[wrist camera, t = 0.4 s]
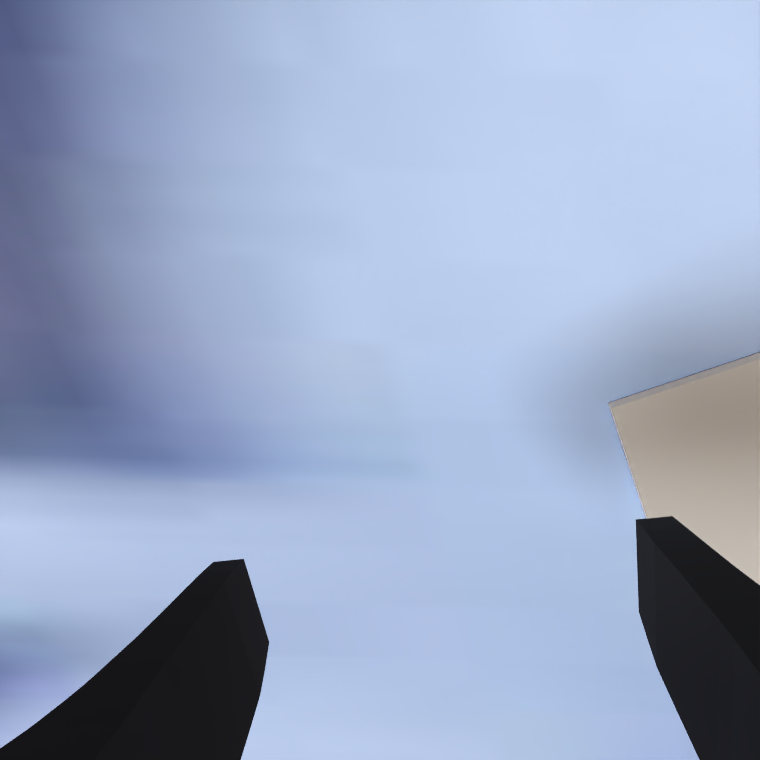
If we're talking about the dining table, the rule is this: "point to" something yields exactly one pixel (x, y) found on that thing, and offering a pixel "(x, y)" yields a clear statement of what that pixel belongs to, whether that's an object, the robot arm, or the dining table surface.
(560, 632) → the dining table surface
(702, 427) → the mat
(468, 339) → the dining table surface
